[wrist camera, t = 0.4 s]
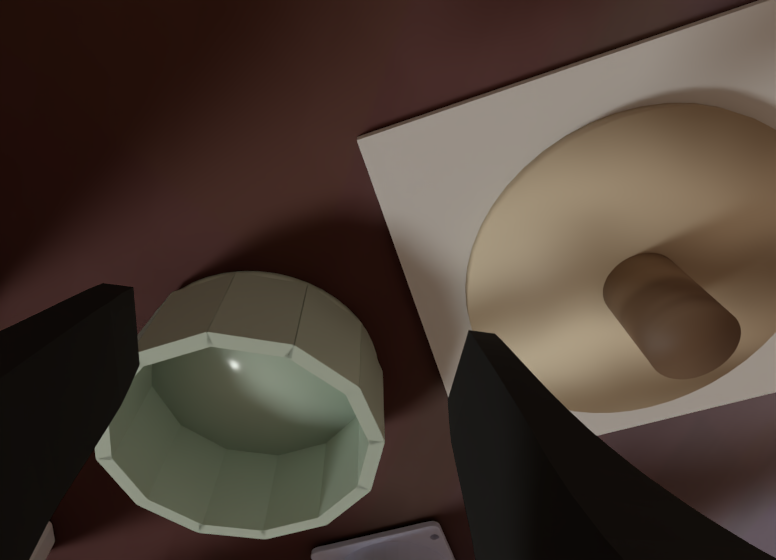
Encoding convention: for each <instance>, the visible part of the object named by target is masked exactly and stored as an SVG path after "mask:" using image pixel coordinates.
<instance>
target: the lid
mask: <svg viewBox="0 0 776 560" xmlns="http://www.w3.org/2000/svg"><path fill="white" fill-rule="evenodd" d="M465 293H466V307H467V311H468V316H469V321H470V324H471V328H472V331H479V332H487V333H495V334H496V335H497V336H498V337H499V338H500V339H501V340H502V341H503V342H504V343H505V344H506V345H507V346H508V347H509V348H510V349H511V350H512V352H513V353H514V354H515V355H516V356H517V357H518V358H519V359H520V360H521V361H522V362H523V363H524V365H525V366H526V367H527V368H528V369H529V370H530V371H531V372H532V373H533V374H534V375H535V376H536V377H537V379H538V380H539V381H540V382H541V383H542V384H543V385H544V386H545V387H546V388H547V389H548V390H549V391H550V392H551V393H552V394H553V395H554V396H555V397H556V398H557V399H558V400H559V401H560V402H561V403H562V404H563V405H564V406H565V407H566V408H567V409H568V410H570V411H576V412H587V413H615V412H624V411H633V410H638V409H643V408H648V407H652V406H656V405H659V404H662V403H666V402H669V401H672V400H675V399H677V398H680V397H683V396H685V395H688V394H690V393H692V392H694V391H696V390H699V389H701V388H703V387H705V386H707V385H709V384H711V383H712V382H714V381H716V380H717V379H719V378H721V377H722V376H724V375H726V374H727V373H729V372H730V371H732V370H733V369H734V368H736V367H737V366H739V365H740V364H741V363H743V362H744V361H746V360H747V359H748V358H749V357H750V356H751V355H753V354H754V353H755V352H756V351H757V350H758V349H760V348H761V347H762V346H763V345H764V344H765V343H766V342H767V341H768V340H769V339H770V338H771V337H772V336H773V335H774V334H775V333H776V130H775V129H774V128H772V127H770V126H768V125H766V124H764V123H762V122H760V121H758V120H756V119H754V118H752V117H748V116H745V115H742V114H739V113H736V112H733V111H730V110H727V109H723V108H720V107H717V106H710V105H704V104H697V103H662V104H655V105H647V106H640V107H637V108H633V109H629V110H625V111H621V112H617V113H614V114H611V115H609V116H606V117H604V118H601V119H599V120H596V121H594V122H591V123H589V124H587V125H585V126H583V127H581V128H579V129H577V130H576V131H574V132H572V133H570V134H568V135H566V136H564V137H563V138H562V139H560V140H559V141H557V142H556V143H554V144H553V145H551V146H550V147H548V148H547V149H545V150H544V151H543V152H541V153H540V154H539V155H538V156H537V157H536V158H535V159H533V160H532V161H531V162H530V163H529V164H528V165H526V166H525V167H524V168H523V169H522V170H521V171H520V172H519V173H518V174H517V175H516V177H515V178H514V179H513V180H512V181H511V182H510V183H509V184H508V185H507V186H506V187H505V189H504V190H503V192H502V193H501V194H500V196H499V197H498V198H497V200H496V201H495V203H494V204H493V205H492V207H491V208H490V210H489V212H488V214H487V216H486V217H485V219H484V221H483V223H482V225H481V226H480V229H479V231H478V234H477V236H476V239H475V241H474V244H473V246H472V250H471V254H470V258H469V262H468V266H467V273H466V283H465Z"/></svg>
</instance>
